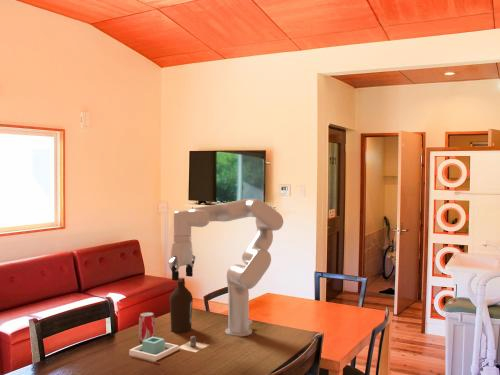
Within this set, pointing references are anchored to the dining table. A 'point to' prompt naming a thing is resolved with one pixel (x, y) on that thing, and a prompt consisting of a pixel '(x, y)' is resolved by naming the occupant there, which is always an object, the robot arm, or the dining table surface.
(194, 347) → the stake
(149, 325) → the soda can
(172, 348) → the white square frame
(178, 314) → the olive oil
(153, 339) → the collar
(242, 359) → the dining table surface
